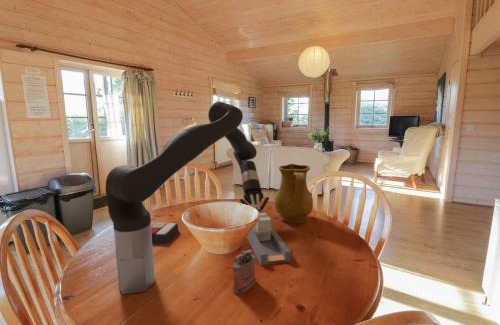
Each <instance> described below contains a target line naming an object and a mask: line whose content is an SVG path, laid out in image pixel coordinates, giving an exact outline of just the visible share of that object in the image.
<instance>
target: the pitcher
mask: <svg viewBox="0 0 500 325" xmlns="http://www.w3.org/2000/svg"><path fill="white" fill-rule="evenodd" d="M310 170H311V166H310V165H307V164H296V163H288V164H286V165H280V166H279V167H278V171H280V174H281V181H280V186H279V188H278V191H276V194H275V196H274V208H275V211H276V213H278V214H279V215H280V217H279V221H282V222H284V223H288V224H303V223H306V222H307V221H308V220H307V218H308V217H307V216H309V215H310V214H312V211H313V208H314V206H313V205H314V199H313V196H312V193H311V192H310V190H309V189H308V186H307V174H308V172H309V171H310Z"/></svg>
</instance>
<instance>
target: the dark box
mask: <svg viewBox="0 0 500 325" xmlns="http://www.w3.org/2000/svg"><path fill="white" fill-rule="evenodd" d="M151 233H152V243H155V244H168V243H170V241H171V240H172V239H173V238H174V237H175V236H176V235H177V234H178V233H179V225H178V223H176V222H174V223H173V222H172V223H171V222H168V223H167V222H151Z"/></svg>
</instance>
